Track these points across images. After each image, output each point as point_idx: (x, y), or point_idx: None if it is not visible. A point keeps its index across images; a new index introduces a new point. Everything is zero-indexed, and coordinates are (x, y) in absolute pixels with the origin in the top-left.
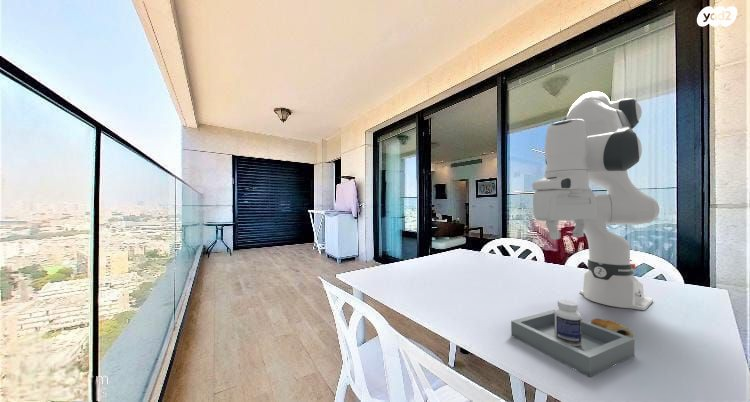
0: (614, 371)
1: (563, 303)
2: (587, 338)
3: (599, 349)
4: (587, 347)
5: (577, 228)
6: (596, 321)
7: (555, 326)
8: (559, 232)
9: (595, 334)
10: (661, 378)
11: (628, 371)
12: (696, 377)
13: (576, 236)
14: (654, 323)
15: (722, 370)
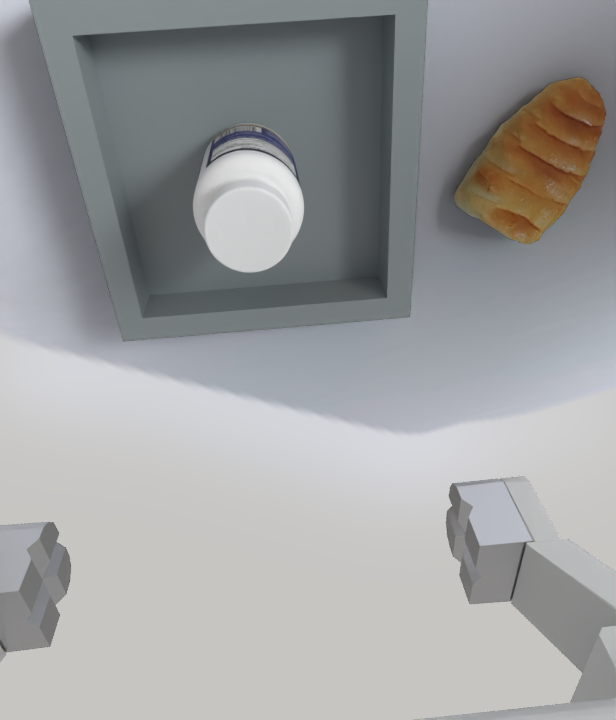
0: None
1: (210, 237)
2: (353, 182)
3: (207, 323)
4: None
5: (538, 581)
6: (527, 131)
7: (205, 159)
8: (27, 644)
9: (383, 202)
10: (327, 365)
11: None
12: (417, 386)
13: (453, 507)
14: None
15: (521, 390)
